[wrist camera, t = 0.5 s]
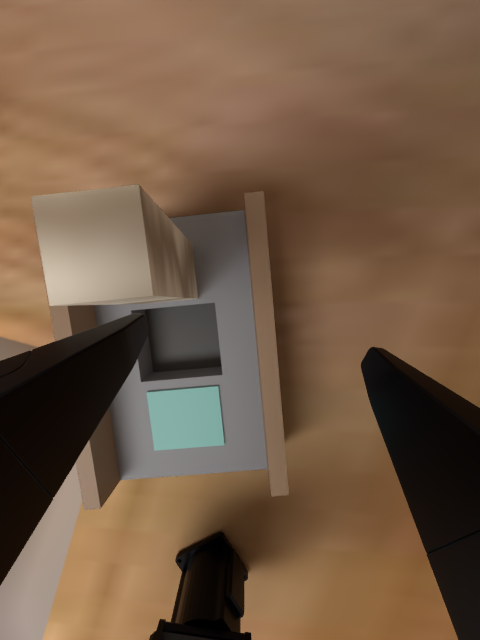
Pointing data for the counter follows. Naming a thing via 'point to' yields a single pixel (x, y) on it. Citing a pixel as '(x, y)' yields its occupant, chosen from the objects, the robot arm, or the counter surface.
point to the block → (111, 249)
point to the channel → (195, 368)
